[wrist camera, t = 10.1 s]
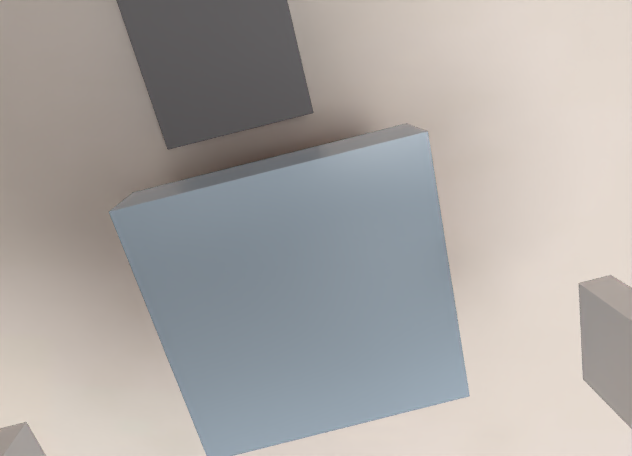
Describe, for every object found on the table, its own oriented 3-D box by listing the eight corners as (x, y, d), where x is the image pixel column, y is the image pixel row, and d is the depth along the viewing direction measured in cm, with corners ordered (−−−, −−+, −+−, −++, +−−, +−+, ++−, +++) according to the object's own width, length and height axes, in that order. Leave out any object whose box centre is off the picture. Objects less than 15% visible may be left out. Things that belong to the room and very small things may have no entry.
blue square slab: (133, 192, 16) (108, 211, 14) (406, 123, 16) (427, 131, 14) (217, 415, 20) (209, 461, 17) (446, 357, 20) (469, 395, 17)
